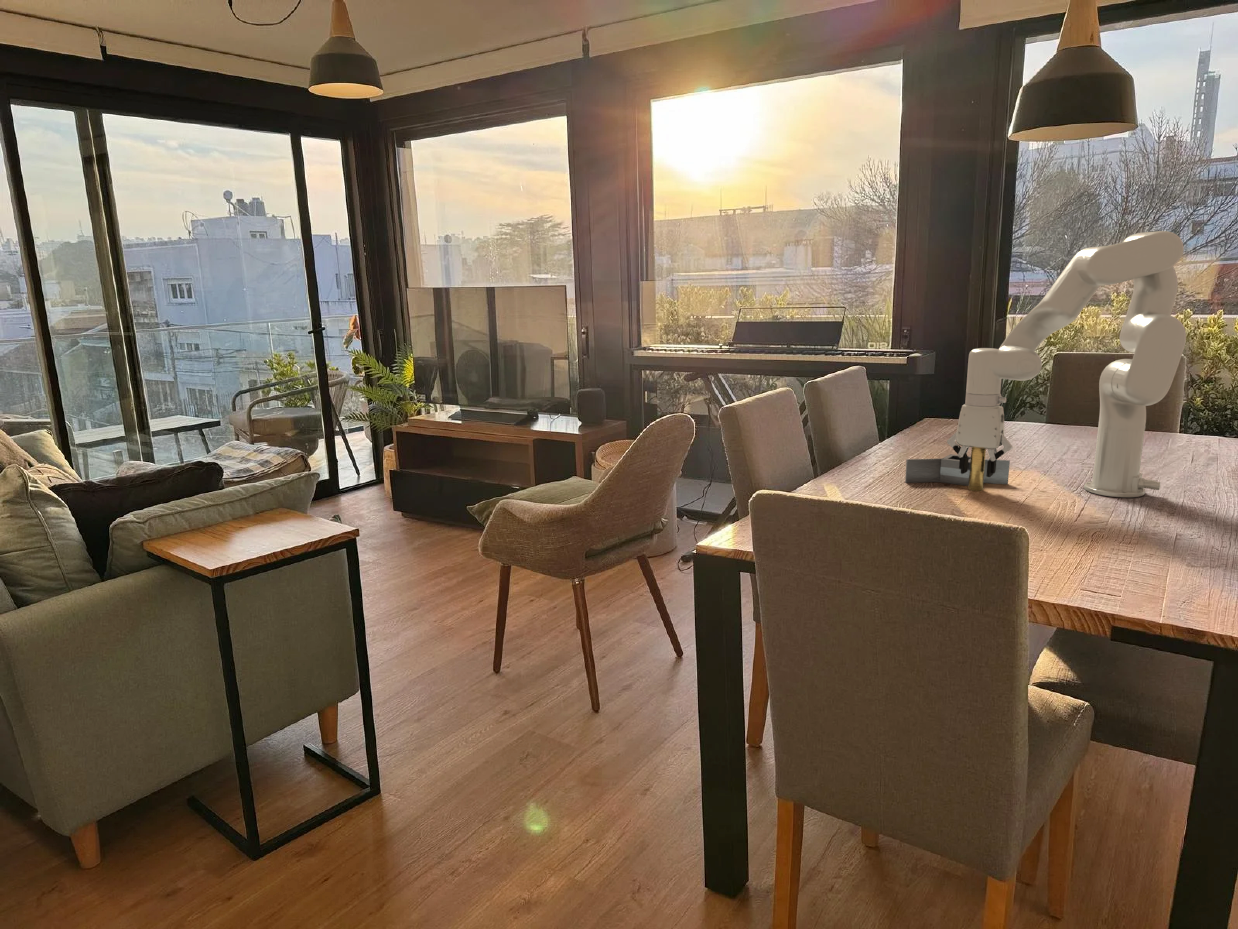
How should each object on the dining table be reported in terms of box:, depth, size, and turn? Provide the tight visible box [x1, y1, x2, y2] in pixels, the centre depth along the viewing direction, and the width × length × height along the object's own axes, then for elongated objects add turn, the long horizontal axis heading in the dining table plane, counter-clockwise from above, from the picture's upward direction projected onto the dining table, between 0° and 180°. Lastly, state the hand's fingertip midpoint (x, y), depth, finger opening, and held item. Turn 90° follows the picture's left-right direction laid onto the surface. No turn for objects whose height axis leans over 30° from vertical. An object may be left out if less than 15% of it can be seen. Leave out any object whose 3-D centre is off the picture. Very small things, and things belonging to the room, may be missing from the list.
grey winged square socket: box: [904, 453, 1011, 487], centre depth 211 cm, size 21×13×6 cm, turn 51°
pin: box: [968, 447, 987, 492], centre depth 204 cm, size 3×3×12 cm
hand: (976, 473), depth 204 cm, fingers open, 5 cm apart
